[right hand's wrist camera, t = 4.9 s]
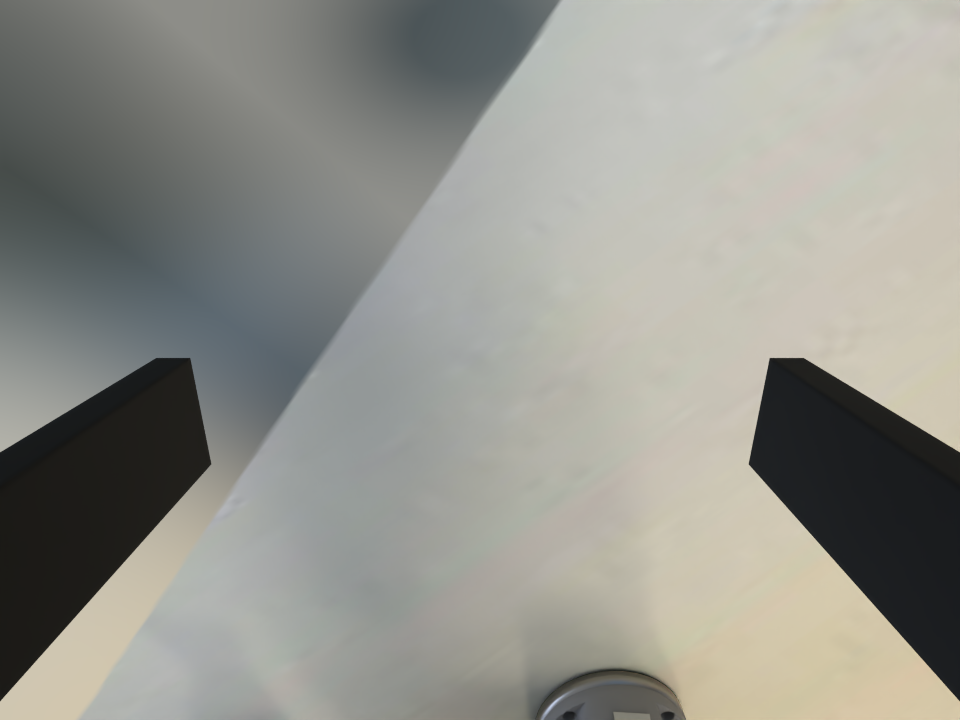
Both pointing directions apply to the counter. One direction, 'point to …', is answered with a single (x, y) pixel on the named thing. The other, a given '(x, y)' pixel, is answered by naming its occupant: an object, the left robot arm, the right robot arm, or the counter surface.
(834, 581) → the counter surface
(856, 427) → the right robot arm
